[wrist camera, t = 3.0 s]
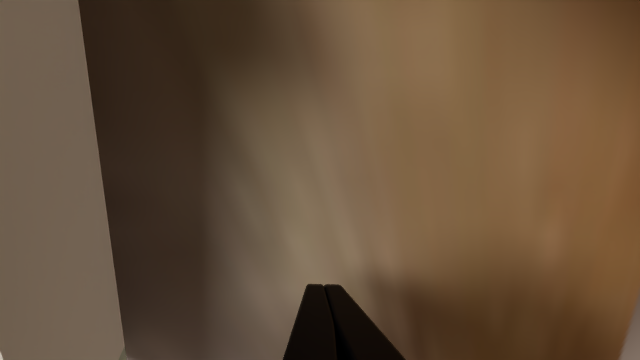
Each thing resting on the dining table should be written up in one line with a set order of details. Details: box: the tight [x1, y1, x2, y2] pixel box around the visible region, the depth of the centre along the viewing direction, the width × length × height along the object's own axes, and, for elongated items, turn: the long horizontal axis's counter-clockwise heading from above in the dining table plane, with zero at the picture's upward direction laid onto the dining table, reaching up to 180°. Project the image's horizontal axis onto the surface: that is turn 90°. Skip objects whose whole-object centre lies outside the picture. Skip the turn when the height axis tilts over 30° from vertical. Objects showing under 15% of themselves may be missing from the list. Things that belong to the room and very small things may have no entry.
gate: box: [0, 0, 127, 360], centre depth 8 cm, size 16×2×6 cm, turn 172°
